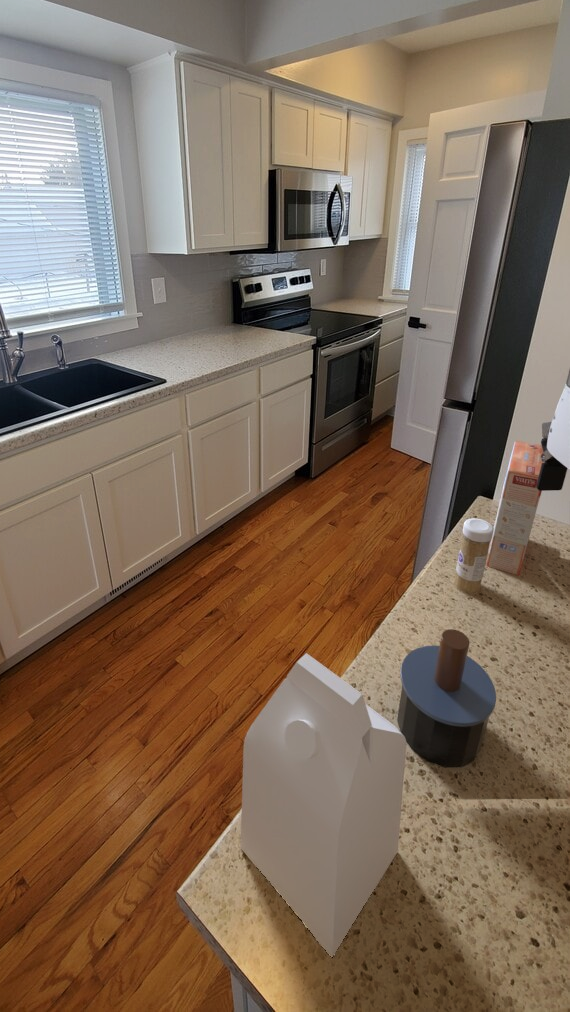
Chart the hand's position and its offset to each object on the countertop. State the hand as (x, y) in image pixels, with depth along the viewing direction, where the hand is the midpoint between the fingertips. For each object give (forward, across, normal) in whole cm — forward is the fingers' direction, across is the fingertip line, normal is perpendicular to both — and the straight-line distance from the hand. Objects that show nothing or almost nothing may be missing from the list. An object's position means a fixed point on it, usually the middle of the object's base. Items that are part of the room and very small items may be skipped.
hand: (569, 509), depth 62 cm
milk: (+26, -24, +34) cm, 49 cm away
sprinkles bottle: (+26, +15, +3) cm, 31 cm away
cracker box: (+26, +25, -9) cm, 37 cm away
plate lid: (+18, -11, +17) cm, 27 cm away
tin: (+26, -11, +17) cm, 33 cm away
